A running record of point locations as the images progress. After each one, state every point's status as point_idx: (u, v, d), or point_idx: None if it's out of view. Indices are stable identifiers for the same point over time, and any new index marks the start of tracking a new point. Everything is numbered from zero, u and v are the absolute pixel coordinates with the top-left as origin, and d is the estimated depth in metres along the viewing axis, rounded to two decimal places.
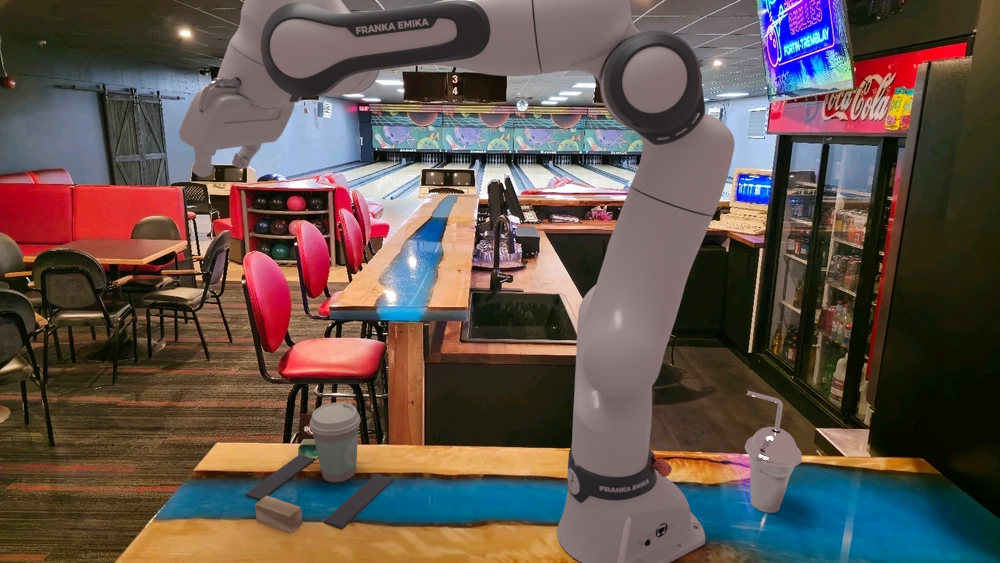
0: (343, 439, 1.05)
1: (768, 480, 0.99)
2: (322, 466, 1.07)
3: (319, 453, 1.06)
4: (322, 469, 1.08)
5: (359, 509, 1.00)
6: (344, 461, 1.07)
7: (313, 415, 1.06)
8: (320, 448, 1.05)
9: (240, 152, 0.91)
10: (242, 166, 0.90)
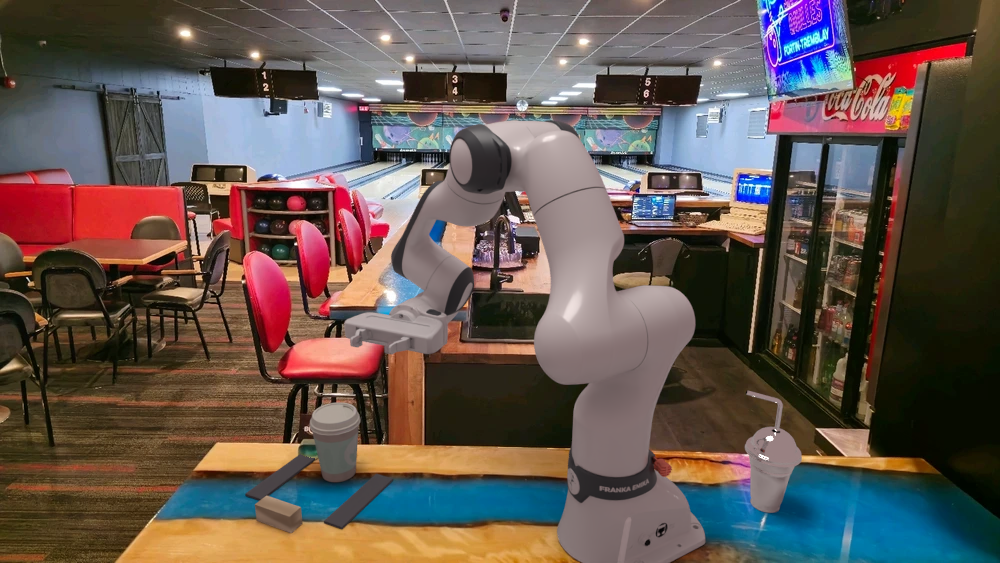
0: (343, 439, 1.05)
1: (768, 480, 0.99)
2: (322, 466, 1.07)
3: (319, 453, 1.06)
4: (322, 469, 1.08)
5: (359, 509, 1.00)
6: (344, 461, 1.07)
7: (313, 415, 1.06)
8: (320, 448, 1.05)
9: None
10: None
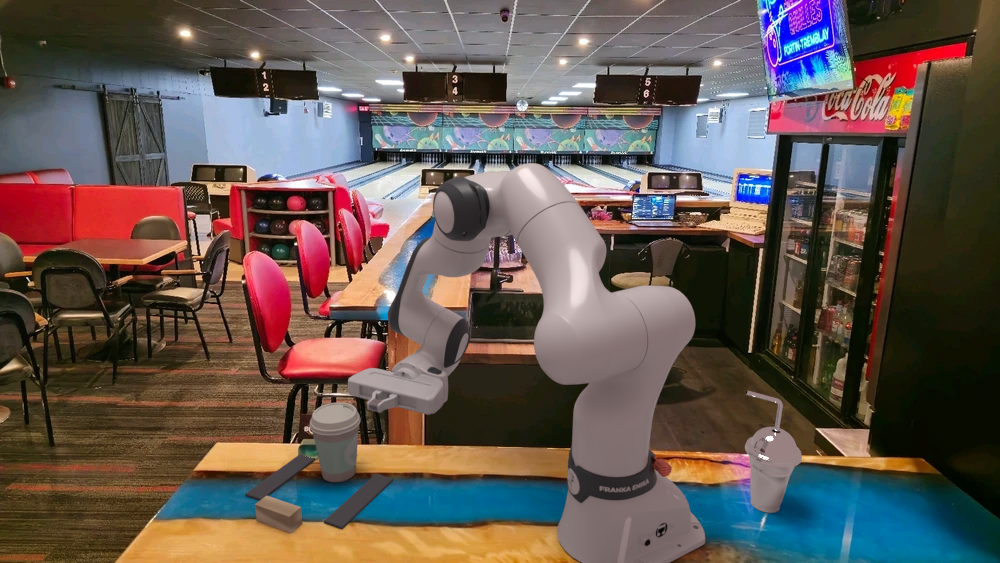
0: (343, 439, 1.05)
1: (768, 480, 0.99)
2: (322, 466, 1.07)
3: (319, 453, 1.06)
4: (322, 469, 1.08)
5: (359, 509, 1.00)
6: (344, 461, 1.07)
7: (313, 415, 1.06)
8: (320, 448, 1.05)
9: None
10: (374, 402, 1.19)
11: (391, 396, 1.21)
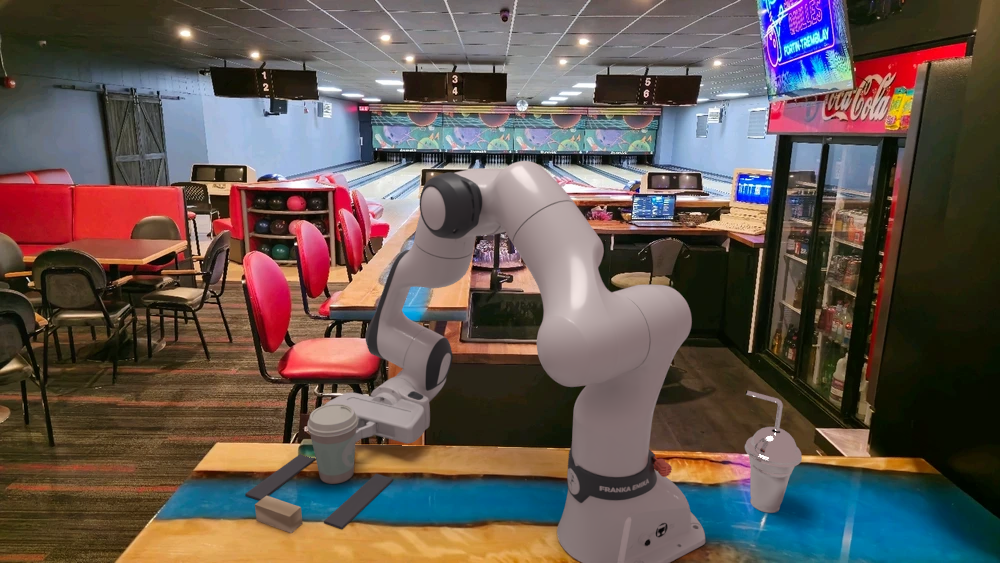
0: (341, 440, 1.04)
1: (768, 480, 0.99)
2: (320, 467, 1.07)
3: (317, 454, 1.06)
4: (320, 470, 1.07)
5: (359, 509, 1.00)
6: (342, 462, 1.06)
7: (311, 416, 1.06)
8: (318, 449, 1.05)
9: None
10: None
11: (368, 424, 1.14)
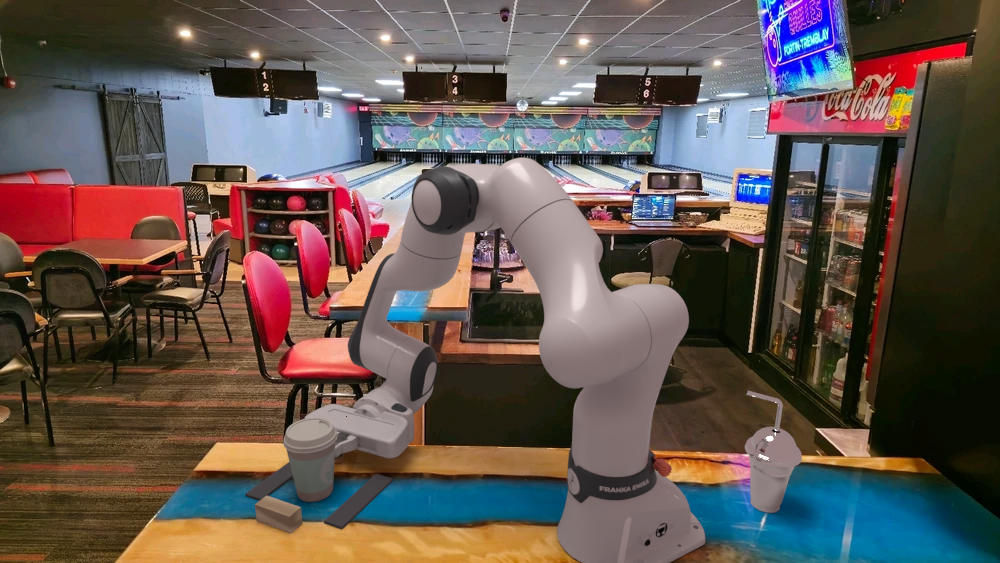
0: (318, 457, 1.00)
1: (768, 480, 0.99)
2: (296, 484, 1.02)
3: (293, 471, 1.01)
4: (297, 488, 1.03)
5: (359, 509, 1.00)
6: (320, 480, 1.01)
7: (287, 431, 1.01)
8: (294, 466, 1.00)
9: None
10: None
11: (349, 438, 1.09)
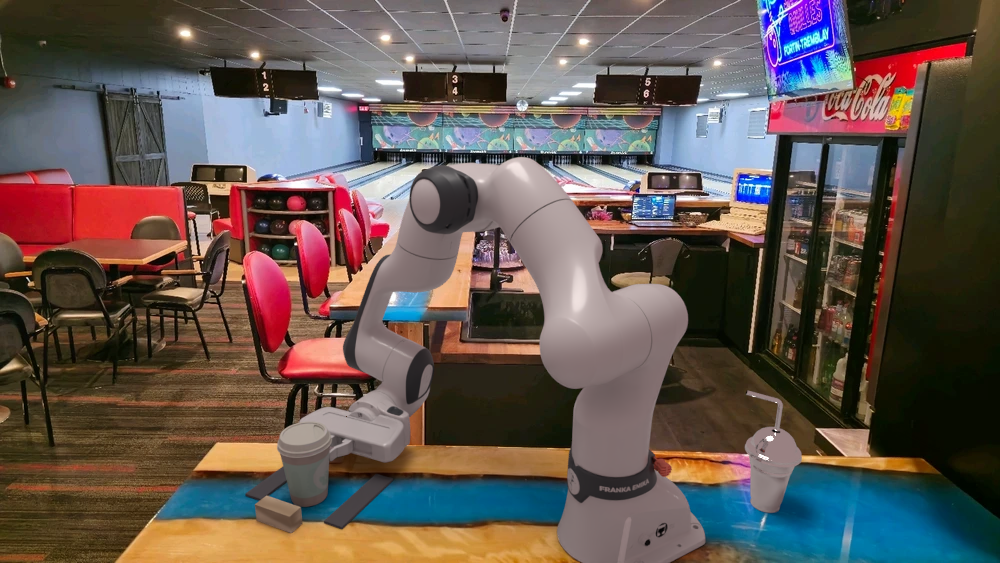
0: (312, 461, 0.98)
1: (768, 480, 0.99)
2: (290, 489, 1.01)
3: (287, 476, 1.00)
4: (290, 492, 1.01)
5: (359, 509, 1.00)
6: (313, 485, 1.00)
7: (281, 435, 1.00)
8: (288, 471, 0.99)
9: None
10: None
11: (344, 442, 1.08)
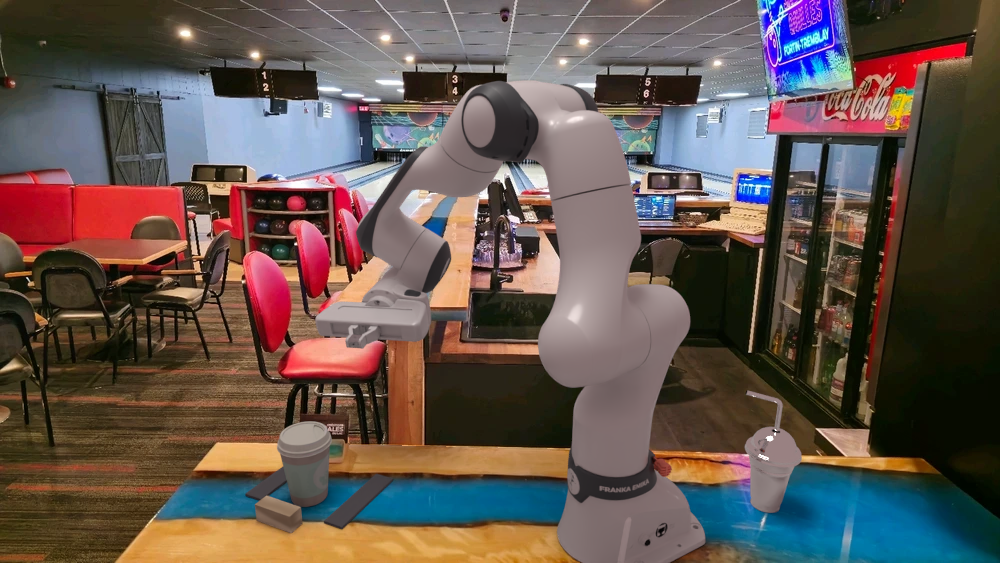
0: (312, 461, 0.98)
1: (768, 480, 0.99)
2: (290, 489, 1.01)
3: (287, 476, 1.00)
4: (290, 492, 1.01)
5: (359, 509, 1.00)
6: (313, 485, 1.00)
7: (281, 435, 1.00)
8: (288, 471, 0.99)
9: None
10: (354, 338, 1.04)
11: (371, 328, 1.06)
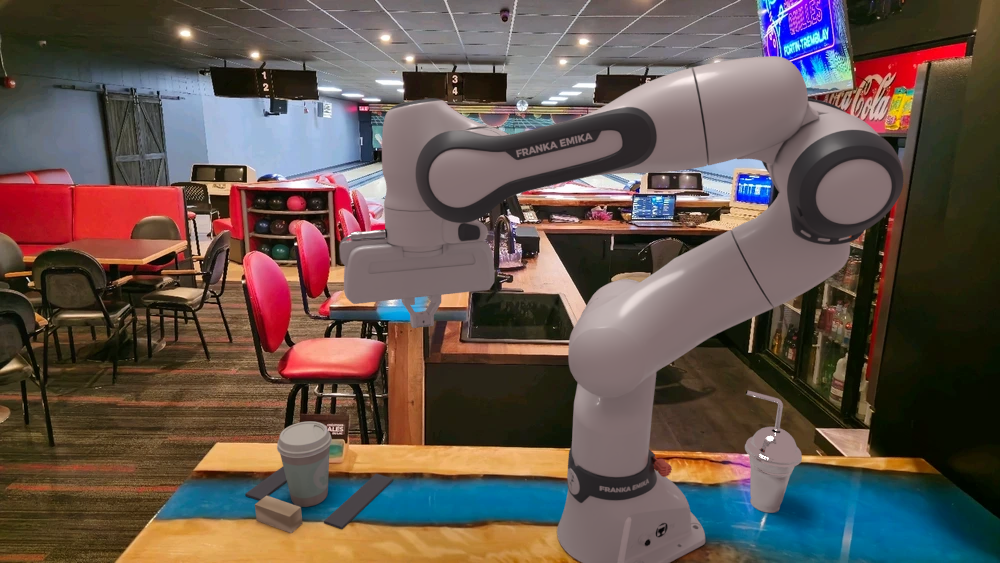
0: (312, 461, 0.98)
1: (768, 480, 0.99)
2: (290, 489, 1.01)
3: (287, 476, 1.00)
4: (290, 492, 1.01)
5: (359, 509, 1.00)
6: (313, 485, 1.00)
7: (281, 435, 1.00)
8: (288, 471, 0.99)
9: (427, 309, 0.86)
10: (423, 323, 0.85)
11: (435, 301, 0.84)
